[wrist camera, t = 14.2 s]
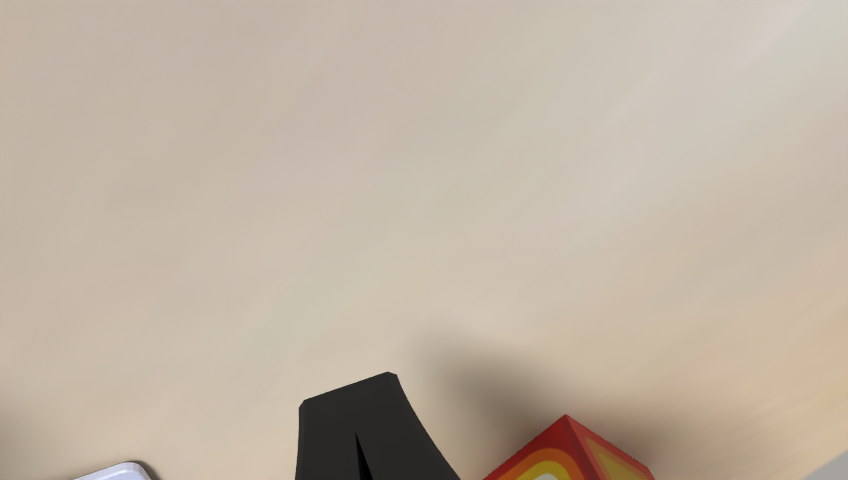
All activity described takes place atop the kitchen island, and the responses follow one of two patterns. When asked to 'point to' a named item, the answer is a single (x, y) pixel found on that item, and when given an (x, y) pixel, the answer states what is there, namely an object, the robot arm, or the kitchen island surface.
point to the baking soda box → (570, 457)
